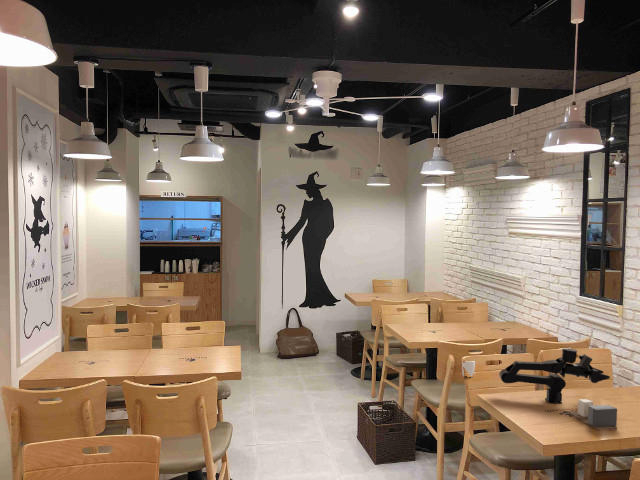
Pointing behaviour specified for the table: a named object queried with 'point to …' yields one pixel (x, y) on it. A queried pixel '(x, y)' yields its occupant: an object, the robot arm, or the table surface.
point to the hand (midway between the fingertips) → (606, 374)
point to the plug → (584, 406)
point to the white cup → (468, 367)
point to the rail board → (585, 420)
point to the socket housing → (602, 415)
